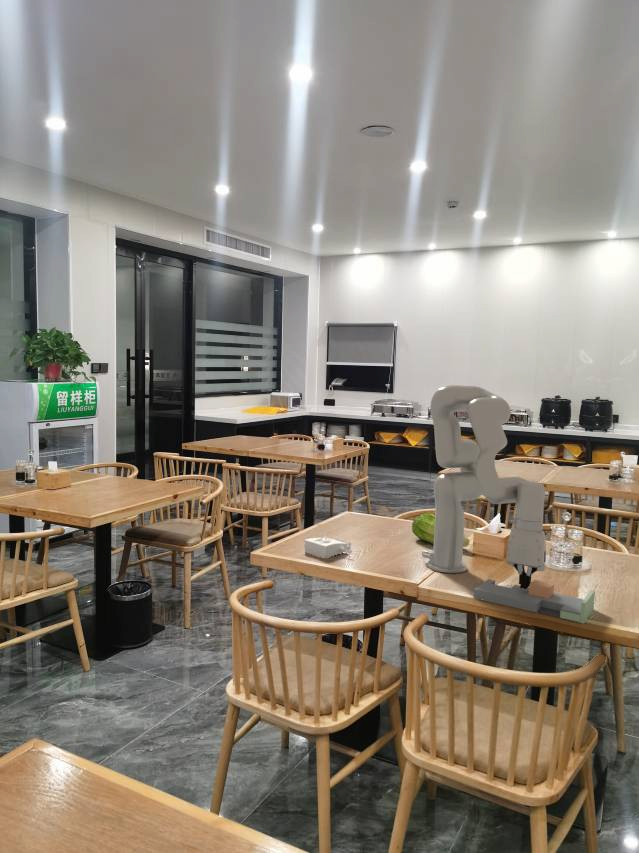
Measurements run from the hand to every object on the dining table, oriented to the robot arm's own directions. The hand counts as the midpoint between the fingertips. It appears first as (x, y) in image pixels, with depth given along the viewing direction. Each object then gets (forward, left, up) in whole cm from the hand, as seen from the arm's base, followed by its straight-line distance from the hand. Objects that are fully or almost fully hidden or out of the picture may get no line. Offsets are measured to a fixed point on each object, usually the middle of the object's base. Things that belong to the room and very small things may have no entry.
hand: (524, 587), depth 184 cm
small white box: (-68, +3, -4) cm, 68 cm away
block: (+5, 0, -1) cm, 5 cm away
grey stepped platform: (+3, -2, -3) cm, 5 cm away
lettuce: (-42, +39, -4) cm, 57 cm away
